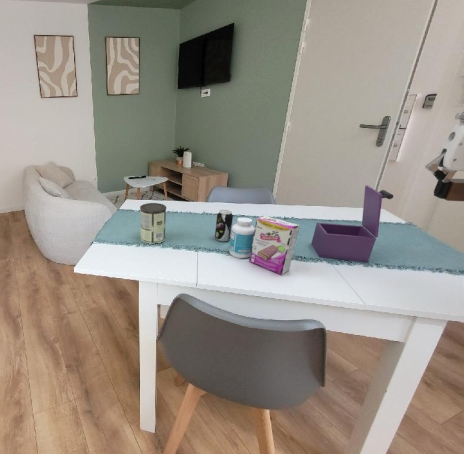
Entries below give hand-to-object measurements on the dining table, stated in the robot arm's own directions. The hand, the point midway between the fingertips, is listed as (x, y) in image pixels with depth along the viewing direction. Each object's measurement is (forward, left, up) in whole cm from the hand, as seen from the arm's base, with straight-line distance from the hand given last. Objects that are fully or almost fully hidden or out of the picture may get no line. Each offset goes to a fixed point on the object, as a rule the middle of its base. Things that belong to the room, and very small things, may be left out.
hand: (453, 196), depth 70 cm
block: (0, 0, 0) cm, 0 cm away
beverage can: (+54, -7, -28) cm, 61 cm away
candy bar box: (+35, +6, -28) cm, 45 cm away
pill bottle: (+45, +2, -28) cm, 53 cm away
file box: (+17, -17, -28) cm, 37 cm away
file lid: (+12, -18, -12) cm, 25 cm away
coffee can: (+78, +7, -28) cm, 83 cm away
